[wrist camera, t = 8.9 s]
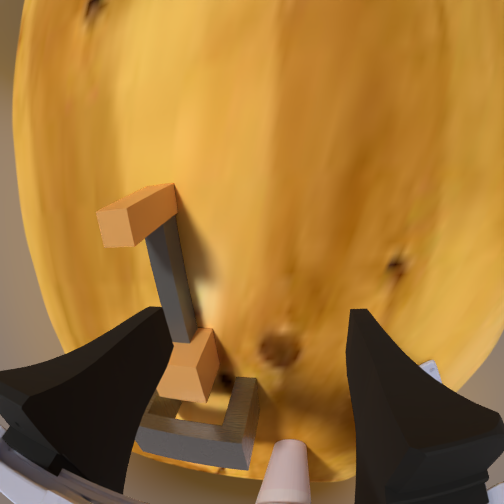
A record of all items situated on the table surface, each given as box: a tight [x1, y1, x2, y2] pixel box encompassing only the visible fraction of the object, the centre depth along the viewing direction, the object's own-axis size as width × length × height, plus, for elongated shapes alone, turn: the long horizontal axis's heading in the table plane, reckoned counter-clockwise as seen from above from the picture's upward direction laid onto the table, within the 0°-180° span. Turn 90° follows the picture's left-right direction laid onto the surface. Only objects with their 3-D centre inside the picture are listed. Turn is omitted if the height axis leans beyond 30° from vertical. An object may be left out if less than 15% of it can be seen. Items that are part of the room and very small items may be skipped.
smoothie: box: [256, 439, 311, 504], centre depth 23 cm, size 6×6×14 cm
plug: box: [96, 183, 220, 403], centre depth 20 cm, size 16×4×6 cm, turn 5°
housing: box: [135, 377, 260, 470], centre depth 24 cm, size 5×10×7 cm, turn 95°
